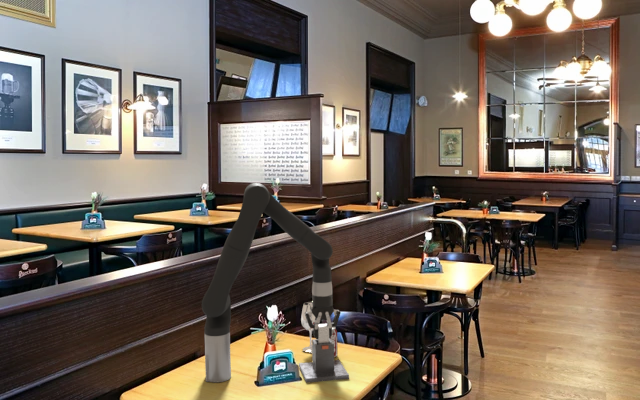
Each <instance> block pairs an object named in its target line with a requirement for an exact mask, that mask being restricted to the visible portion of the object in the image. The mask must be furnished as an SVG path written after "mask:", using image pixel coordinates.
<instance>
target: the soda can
mask: <svg viewBox="0 0 640 400" xmlns="http://www.w3.org/2000/svg"><path fill="white" fill-rule="evenodd" d="M336 327H337V326H334V327H332V336H330V339H331V340H332V342H333V343H334V358H335V357H337V356H338V331H337V329H336Z"/></svg>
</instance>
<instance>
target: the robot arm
mask: <svg viewBox="0 0 640 400" xmlns="http://www.w3.org/2000/svg"><path fill="white" fill-rule="evenodd" d="M239 211H240V212H239V215H238V217H237V219H236V221H235V223H234V225H233V226H232V228H231V230H230V232H229V233H228V235H227V238H226V240H225V242H224V245H223V247H222V249H221V253H220V256H219V259H218V262H217V265H216V269H215V271H214V275H213V278H212V280H211V282H210V284H209V287H208V289H207V290H206V292H205V294H204V296H203V298H202V300H201V310H202V312H203V314H204V315H205V316H206V319H205V324H204V328H203V329H204V359H205V360H204V363H205V365H204V366H205V367H204V369H205V382H210V383H222V382H223V383H224V382H226V381H228V380H230V379H231V378H232V371H231V370H232V367H231V364H232V363H231V361H232V360H231V331H230V329H231V322H232V311H231V310H232V306H231V305H232V304H231V303H232V302H231V297H230V292H231V290H232V286H233V285H234V282H235V281H236V280H237V278H238V275H239V274H240V273H241V270H242V269H243V266H244V265H245V262H246V260H247V258H248V255H249V253H250V250H251V246H252V245H253V241H254V237H255V234H256V232H257V231H256V230H257V228H258V225H259V221H260V220H261V218H262V216H263V214H266V216H269V218H271V219H272V220H273V221H274V222H275V223H276V224H277V225H278V226H279V227H280V228H281V229H282V230H283V231H284V233H286V234H287V235H288V236H290V238H291V239H293V240H295V241H296V242H297V243H298V244H300V245H301V246H303V247H304V248H305V249H307V251H308V252H309V253H310V256H311V263H312V285H311V293H312V297H311V298H312V301H311V302H312V309H311V311H309V312H305V316H306V319H307V322H308V325H309V327H310V328H313V329H314V330H313V337H314V338H315V339H318V325H319V324H320V323H319V322H321V321H326V324H327V325H328V326H329V338H330V336H332V327H337V325H338V322H339V319H340V316H341V310H339V309H334V307H333V284H332V283H333V282H332V279H333V278H332V268H331V266H330V258H331V257H332V255H333V247H332V244H331V243H330V242H328V241H327V240H325V239H324V238H323V237H322V236H320V235H319V234H318V233H316V232H315V231H314V230H313V229H312V228H311V227H310V226H309V225H307V224H306V223H305V222H304V221H303V220H301V219H300V218H299V217H297V216H296V215H295V214H293V212H291V211H290V210H288V209H287V208H286V207H285V206H283V205H282V204H281V203H280V202H279V201H278V200H277V199H276V198H275V197H274V196H273V194H272V193H271V192H270V191H269V189H268V188H267V186H265V185H264V184H262V183H260V182H253V183H250V184H248V185H247V186H246V188H245V189H244V191H243V200H242V204H241V207H240V210H239ZM311 314H313V315H314V316H315V320H314V324H312V322H311V319H310V317H311ZM332 315H334V317H333V320H332V321H331V316H332Z"/></svg>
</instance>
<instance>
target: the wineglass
mask: <svg viewBox="0 0 640 400" xmlns="http://www.w3.org/2000/svg"><path fill="white" fill-rule="evenodd" d="M311 309H312V301H308V302H304V303H303V306H302V309H301V310H302V311H301V318H300V321H301V326H302V327H303V328H304V329H305V330H306V331H309V346H305V347H303V348H302V349H303V351H305V352H309V353H308V354H312V340H313V338H312V336H313V335H312V334H313V331H314V329H313V328H310V327H309V325H308V322H307V319H306V316H305V312H309V311H311ZM310 319H311V322H312V324H314V320H315V316H314V315H313V314H311V317H310ZM320 322H321V321H320ZM320 322H319V324H321V323H320ZM303 351H302V352H303ZM305 352H304V353H305Z"/></svg>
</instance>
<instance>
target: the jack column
mask: <svg viewBox="0 0 640 400" xmlns="http://www.w3.org/2000/svg"><path fill="white" fill-rule="evenodd" d="M317 344H329V326H328V325H327V323H319V325H318V339H317Z"/></svg>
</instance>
